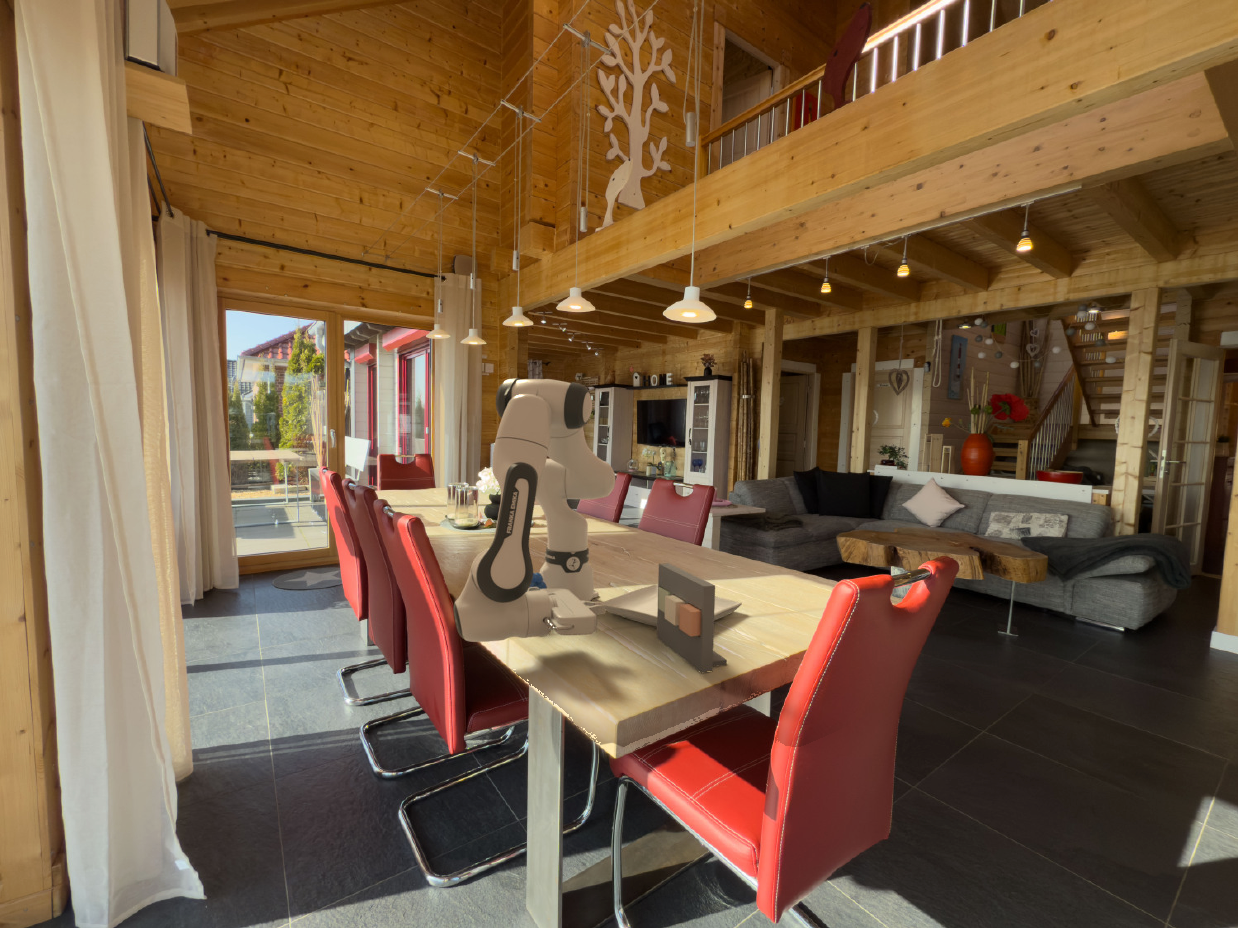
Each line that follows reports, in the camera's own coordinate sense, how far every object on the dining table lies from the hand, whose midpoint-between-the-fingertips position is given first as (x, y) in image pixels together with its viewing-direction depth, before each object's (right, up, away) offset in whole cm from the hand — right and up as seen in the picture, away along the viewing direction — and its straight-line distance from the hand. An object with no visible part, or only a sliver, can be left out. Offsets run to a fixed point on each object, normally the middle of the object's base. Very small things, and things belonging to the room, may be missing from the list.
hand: (603, 607), depth 116 cm
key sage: (+15, -2, +7) cm, 17 cm away
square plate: (+17, -9, +27) cm, 33 cm away
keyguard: (+19, -10, +2) cm, 21 cm away
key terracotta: (+18, -3, -6) cm, 19 cm away
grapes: (-17, -8, +20) cm, 28 cm away
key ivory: (+16, -3, 0) cm, 16 cm away
